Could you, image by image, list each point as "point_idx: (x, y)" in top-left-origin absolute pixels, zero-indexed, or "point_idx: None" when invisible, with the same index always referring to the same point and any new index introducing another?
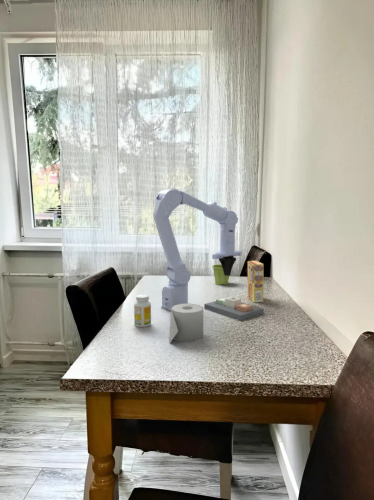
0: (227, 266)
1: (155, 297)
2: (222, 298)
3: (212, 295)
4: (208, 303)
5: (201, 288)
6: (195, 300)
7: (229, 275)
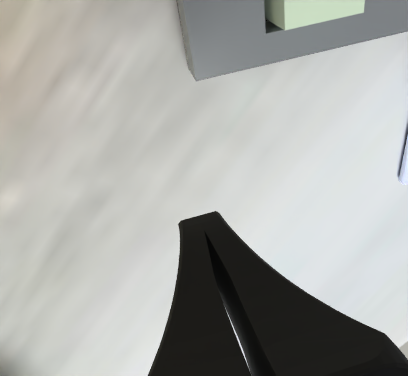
0: (292, 283)
1: (401, 282)
2: (306, 9)
3: (170, 243)
4: (391, 24)
5: (146, 354)
6: (310, 191)
7: (191, 218)
